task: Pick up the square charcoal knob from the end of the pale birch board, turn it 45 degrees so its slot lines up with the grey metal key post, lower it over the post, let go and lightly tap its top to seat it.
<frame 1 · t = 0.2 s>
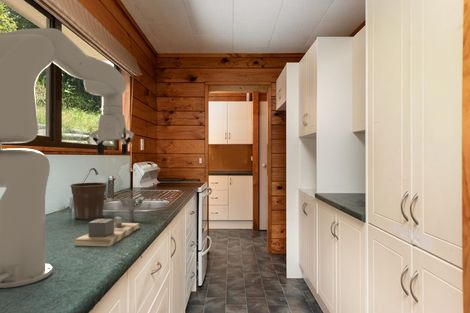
hand: (112, 154, 116), 30 cm above the countertop, fingers open, 9 cm apart
mechanical component: (131, 221, 133), on the countertop
plant pot: (89, 217, 141), on the countertop
key board: (110, 235, 108), on the countertop
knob: (101, 234, 102), point 2 cm above the countertop, touching key board
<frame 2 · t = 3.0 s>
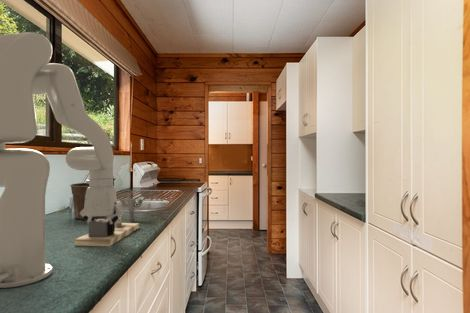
hand: (101, 234, 102), 2 cm above the countertop, fingers closed on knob, 6 cm apart
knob: (101, 234, 102), point 2 cm above the countertop, touching gripper, key board
everything else where it was.
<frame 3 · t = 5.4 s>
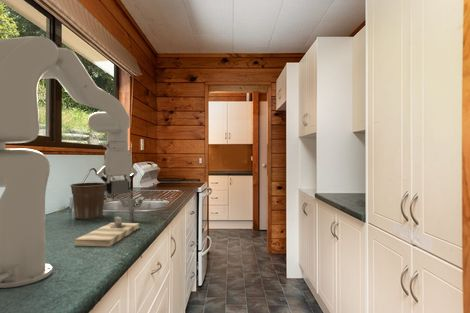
hand: (117, 192, 114), 16 cm above the countertop, fingers closed on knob, 6 cm apart
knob: (117, 192, 114), point 15 cm above the countertop, touching gripper
everything else where it was.
when the fingers open (3 cm above the countertop, at t = 7.8 s): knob stays where it is, resting on key board.
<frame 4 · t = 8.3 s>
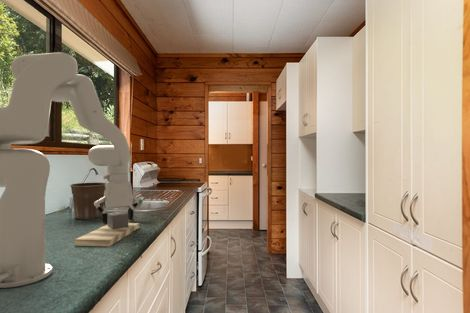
hand: (118, 221, 114), 4 cm above the countertop, fingers open, 9 cm apart
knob: (117, 226, 114), point 2 cm above the countertop, touching key board
everything else where it was.
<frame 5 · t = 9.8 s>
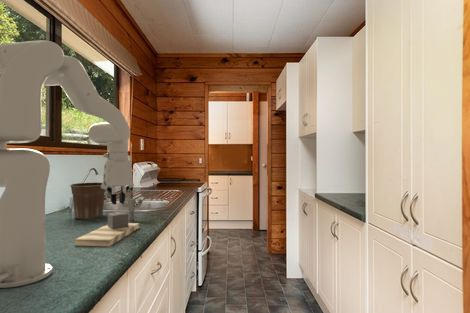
hand: (117, 203, 114), 11 cm above the countertop, fingers closed
nothing on the countertop moved.
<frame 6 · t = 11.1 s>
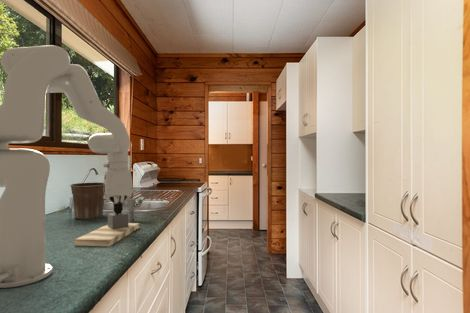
hand: (118, 213, 114), 7 cm above the countertop, fingers closed
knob: (117, 226, 114), point 2 cm above the countertop, touching gripper, key board
everything else where it was.
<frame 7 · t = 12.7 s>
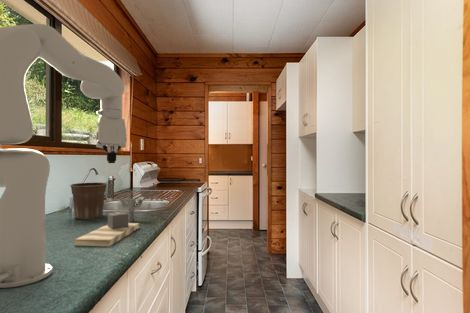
hand: (111, 163, 111), 27 cm above the countertop, fingers closed
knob: (117, 226, 114), point 2 cm above the countertop, touching key board
everything else where it was.
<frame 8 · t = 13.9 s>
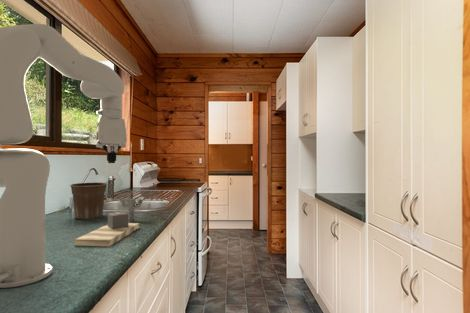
hand: (111, 162, 111), 27 cm above the countertop, fingers closed
nothing on the countertop moved.
at the end: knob 0.0 cm from the target spot on the key board, point 2.1 cm above the key board's base; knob tilted 0°; the gripper is holding nothing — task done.
